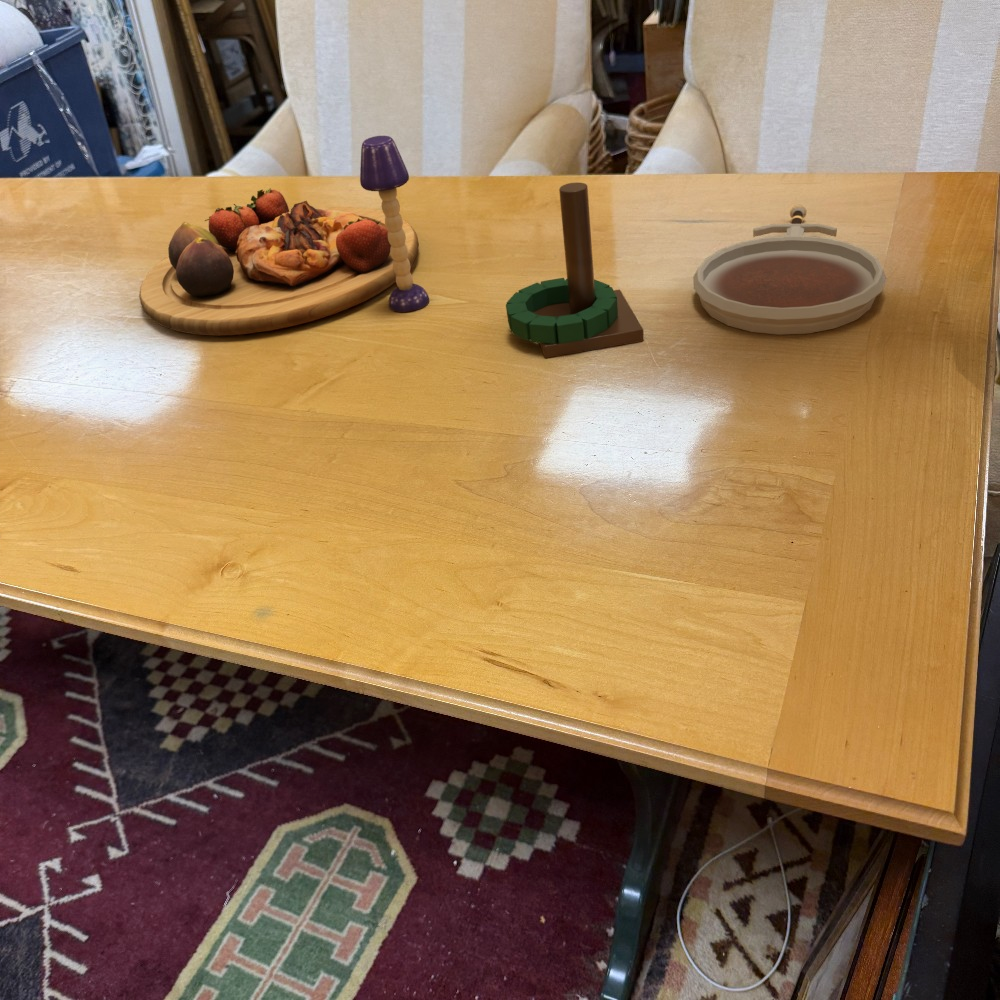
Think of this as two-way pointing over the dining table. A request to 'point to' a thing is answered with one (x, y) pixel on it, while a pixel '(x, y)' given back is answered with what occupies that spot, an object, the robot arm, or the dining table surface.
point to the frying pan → (789, 280)
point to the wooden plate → (270, 267)
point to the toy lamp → (392, 215)
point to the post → (585, 280)
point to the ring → (562, 326)
